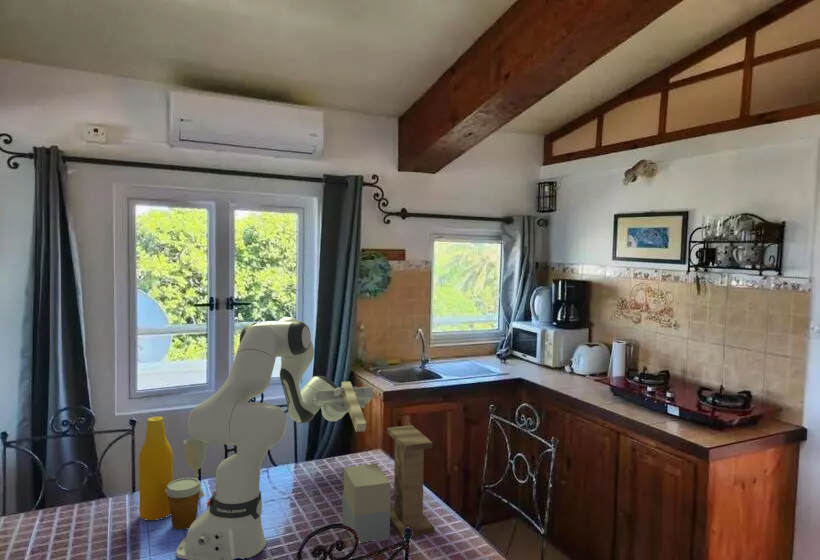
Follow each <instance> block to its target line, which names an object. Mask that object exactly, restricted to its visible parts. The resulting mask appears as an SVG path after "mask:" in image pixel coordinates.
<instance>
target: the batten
mask: <svg viewBox="0 0 820 560" xmlns="http://www.w3.org/2000/svg"><path fill="white" fill-rule="evenodd" d="M340 384H341V385H340V387H341V388H344V393H343V397H344V400H345V402H346V405H347V408H348V411H349V412H348V413H349V416H350V420H351V422H352V425H353V427H354V430H355V432H356V433H358V432H359V433H360V432H366V429H367V421H366V419H365V415H364V413H363V411H362V408H360V405H359V403H358V400H357V397H356V395H355V392H354V390H353V387H354V386H353V384H352V382H351V381H341V383H340Z"/></svg>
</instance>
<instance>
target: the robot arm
mask: <svg viewBox="0 0 820 560" xmlns="http://www.w3.org/2000/svg"><path fill="white" fill-rule="evenodd" d="M311 337H312V336H311V331H310V328H309V326H308V324H306V323H305V322H303V321H300V320H298V319H297V318H296V317H293V316H286V317H282V318H280V319H279V320H271V321H262V322H253V323H249V324H246V325H245V326H244V327H243V329H242V330H241V331H240V334H239V345H238V347H237V351H236V354H235V357H234V360H233V362H232V366H231V369H230V372H229V374H228V376H227V378H226V380H225V382H224V383H223V384H222V386H221V387H220V388H218V390H217V391H216V392H215V393H214V394H212V395H211V396H210V397H209V398H207V399H205V400H204V401H202V402H200V403H198V404H197V405H195V407H193V409H192V410H191V412H190V413H189V417H188V420H187V427H188V431H189V435H190V436H191V438H193V439H195V440H198V441H202V442H206V444H211V445H234V446H236V453H235V454H232V455H230V456H228V457H227V458H225V459H223V460H222V461H221V462H220V463H218V464H219V465H218V466H217V468H216V472H215V491H214V492H213V495H212V496H210V498H209V500H208V501H207V502H206V508H207V510H206V511H204V512H202V514H200V515H199V516H198V517H196V520H195V521H194V522H193V523H192V524H191V526H190V527H189V528H188V529H187V531H186V532H187V533H186V536H185V538H183V539H182V540H181V542H180V543H179V544H178V546H177V547H176V552H175V556H176V558H178V559H183V560H233V559H235V558H242V559H243V560H245V559H244V558H247V559H249V558H252V557H254V556H256V555H257V554H259V553H261V551H263V550H264V548H265V547H266V544H267V540H266V536H265V534H264V530H263V524H262V517H261V515H262V511H263V510H262V508H263V507H262V506H263V504H262V503H263V502H262V491H261V490H260V483H261V482H260V480H261V479H260V478H261V466H262V464H263V461H264V458H265V456H266V454H267V452H269V450H270V449H271V448H272V447H273V446H275V445H276V444H278V443H279V442H280V440H281V439H283V437H284V436H285V433H286V429H287V426H288V419H287V416H286V413H285V411H284V410H283V408H281V407H280V406H279V405H278V406H277V405H276V404H275V405H274V404H270V403H266V402H249V401H250V400H252V399H253V398H255V397H258V396H260V395H262V393H265V392H266V391H267V390H268V388H269V386H270V383H271V379H272V375H273V371H274V367H275V363H276V359H277V358H278V357H279V358H280V360H281V361H280V362H281V364H280V370H279V379H280V382H281V386H282V389H283V394H284V397H285V401H286V407H287V408H286V409H287V413H288V415H289V416H290V418H291V420H292V421H294V422H296V423H298V424H306V423H307V424H308V423H310V422H311V421H312V420H313V418H314V417H315V415H316V414H317V413H318V412H319V410H320V409H321V414H322V416H323V418H324V419H325V420H327V421H328V422H336V421H339V420H341V419H342V418H343V417H344V416H345V415H346V414H347V413H349V411H348V408H347V405H346V402H345V400H344V397H343V393H344V388H341V386H340V387H339V386H337V385H336V384H335V383H334V381H333V380H331V379H330V378H328V377H327V376H324V375H314V376H312V377H311V378H310V379H309V381H308V382H307V383H306V384H305V385H304V386H303V387H302V388H301V389H300V382H301V380H302V378H303V375H304V374H305V372H306V371H307V370H308V368H309V367H310V365H311V363H312V361H313V359H314V357H315V356H314V355H315V349H314V344H313V342H312V339H311ZM352 387H353V390H354V392H355V395H356V397H357V400H358V403H359V405H360V408H361V409H363V408H365V407H366V405H367V404H368V403H369V402H370V401H372V400H373V398H374V389H373V387H372V386H363V387H361V386H360V387H357V386H352Z"/></svg>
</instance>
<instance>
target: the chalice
mask: <svg viewBox="0 0 820 560" xmlns="http://www.w3.org/2000/svg"><path fill="white" fill-rule="evenodd" d="M183 444H184V446H185V451H184V452H185V453H184V454H185V456H184V457H185V460H186V463H188V466H189V467H190V469H191V470H193V471H194V474H193V478H196V479H198V480H199V476H200V475H199V470H200V469H201V468H202V467H203V464H204V462H205V460H206V457H207V443H206V442H202V441H198V440H195V439H193V437H190V438H187V439H185V440H183ZM204 494H205V493H204V490H203V488H201V489H200V492H199V498H200V497H202V496H204ZM204 497H205V496H204ZM202 498H203V497H202ZM200 499H201V498H200Z"/></svg>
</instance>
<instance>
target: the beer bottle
mask: <svg viewBox="0 0 820 560" xmlns="http://www.w3.org/2000/svg"><path fill="white" fill-rule="evenodd" d="M164 422H165V421H164V417H163V416H152V417H149V418H147V423H146V424H147V425H146V432H145V440H144V443H143V445H142V446H141V449H140V452H139V455H138V487H139V488H138V489H139V491H138V492H139V503H138V505H139V509H138V511H139V517H140V518H143V519H147V520H156V519H161V518H164V517H166V516H168V515H170V508H169V501H168V495H167V493H166V489H167V486H168V484H169V483H170V482H172V481H174V470H173V469H174V464H173V463H174V462H173V461H174V460H173V458H174V455H173V449H172V446H171V444H170V443H169V441H168V439H167V435H166V429H165V423H164ZM170 516H171V515H170ZM168 517H169V516H168ZM166 518H167V517H166ZM143 519H142V520H143ZM164 519H165V518H164ZM161 520H162V519H161Z"/></svg>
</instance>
